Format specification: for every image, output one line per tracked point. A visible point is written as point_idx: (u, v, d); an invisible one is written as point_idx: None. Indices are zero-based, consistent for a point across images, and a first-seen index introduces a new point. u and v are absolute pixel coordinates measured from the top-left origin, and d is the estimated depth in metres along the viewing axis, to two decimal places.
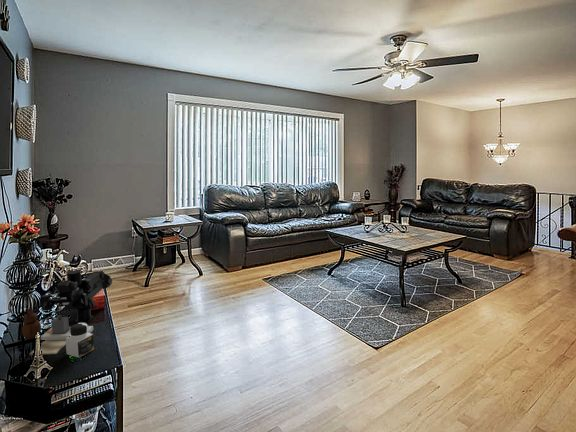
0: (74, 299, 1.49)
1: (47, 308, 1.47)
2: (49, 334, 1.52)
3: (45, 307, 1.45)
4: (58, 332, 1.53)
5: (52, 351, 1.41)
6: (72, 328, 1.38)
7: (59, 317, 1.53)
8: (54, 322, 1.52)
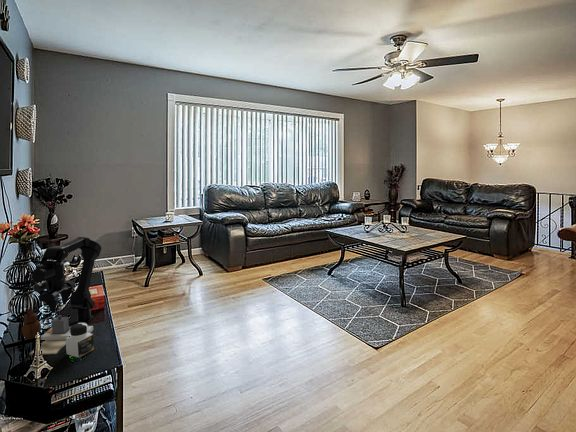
0: None
1: (66, 296, 1.57)
2: (49, 334, 1.52)
3: (63, 299, 1.57)
4: (58, 332, 1.53)
5: (52, 351, 1.41)
6: (72, 328, 1.38)
7: (59, 317, 1.53)
8: (54, 322, 1.52)
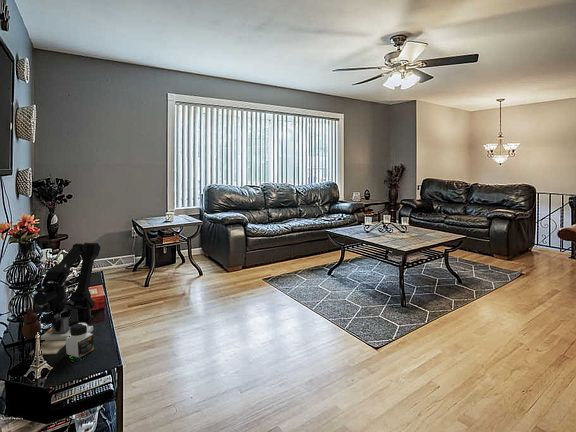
0: None
1: None
2: (49, 334, 1.52)
3: None
4: (58, 332, 1.53)
5: (52, 351, 1.41)
6: (72, 328, 1.38)
7: None
8: None
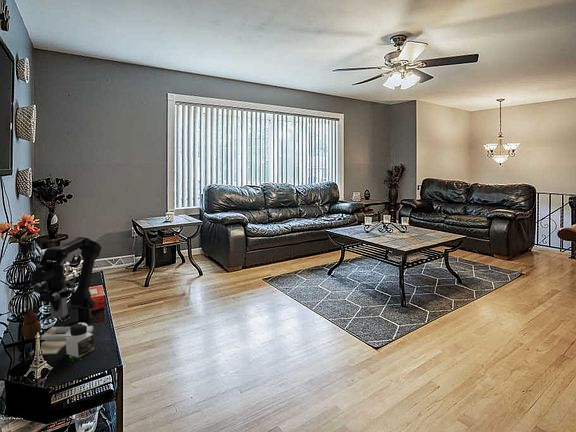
0: None
1: None
2: (49, 334, 1.52)
3: None
4: (56, 312, 1.51)
5: (52, 351, 1.41)
6: (72, 328, 1.38)
7: None
8: None
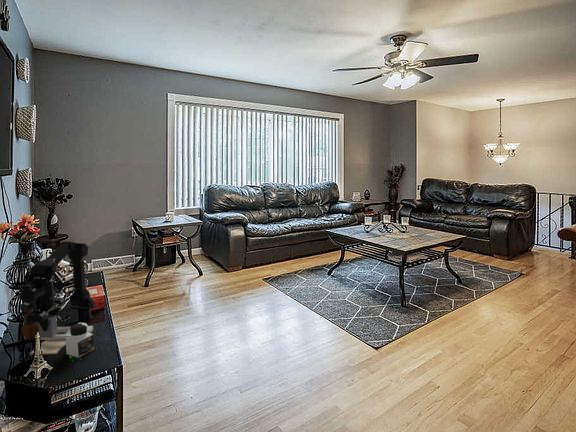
0: None
1: None
2: None
3: None
4: (45, 331, 1.41)
5: (52, 351, 1.41)
6: (72, 328, 1.38)
7: None
8: None
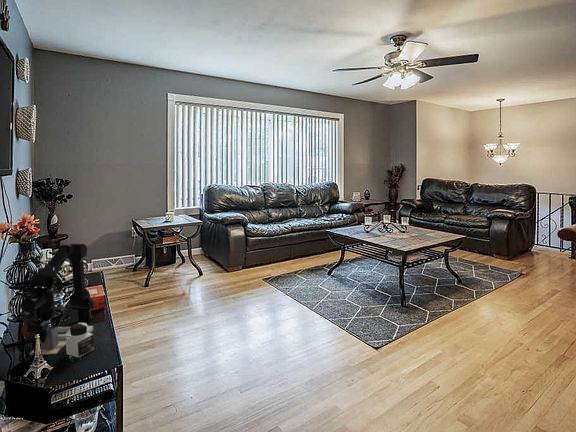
0: None
1: (56, 324, 1.47)
2: None
3: None
4: (46, 343, 1.42)
5: (52, 351, 1.41)
6: (72, 328, 1.38)
7: None
8: None
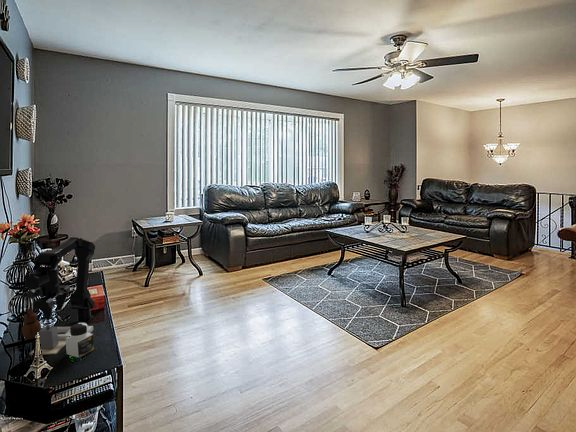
0: None
1: (61, 301, 1.53)
2: None
3: (58, 305, 1.53)
4: (46, 343, 1.42)
5: (52, 351, 1.41)
6: (72, 328, 1.38)
7: (47, 327, 1.42)
8: (42, 332, 1.41)
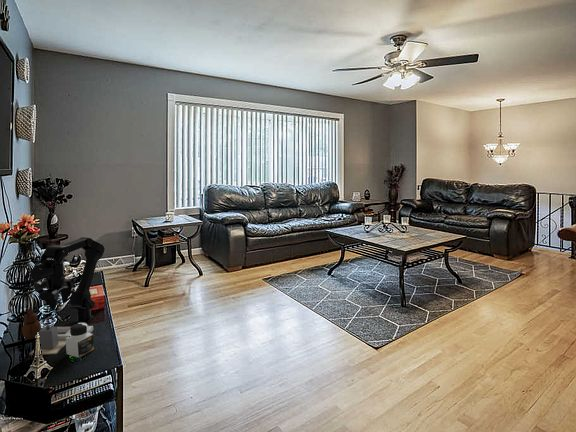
0: None
1: (66, 294, 1.59)
2: None
3: (63, 298, 1.59)
4: (46, 343, 1.42)
5: (52, 351, 1.41)
6: (72, 328, 1.38)
7: (47, 327, 1.42)
8: (42, 332, 1.41)
